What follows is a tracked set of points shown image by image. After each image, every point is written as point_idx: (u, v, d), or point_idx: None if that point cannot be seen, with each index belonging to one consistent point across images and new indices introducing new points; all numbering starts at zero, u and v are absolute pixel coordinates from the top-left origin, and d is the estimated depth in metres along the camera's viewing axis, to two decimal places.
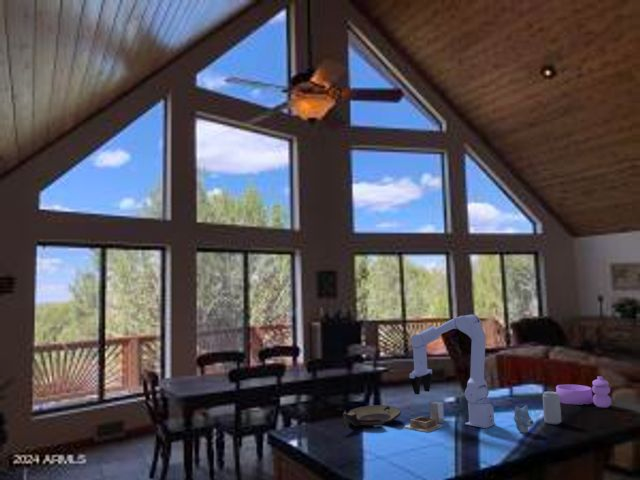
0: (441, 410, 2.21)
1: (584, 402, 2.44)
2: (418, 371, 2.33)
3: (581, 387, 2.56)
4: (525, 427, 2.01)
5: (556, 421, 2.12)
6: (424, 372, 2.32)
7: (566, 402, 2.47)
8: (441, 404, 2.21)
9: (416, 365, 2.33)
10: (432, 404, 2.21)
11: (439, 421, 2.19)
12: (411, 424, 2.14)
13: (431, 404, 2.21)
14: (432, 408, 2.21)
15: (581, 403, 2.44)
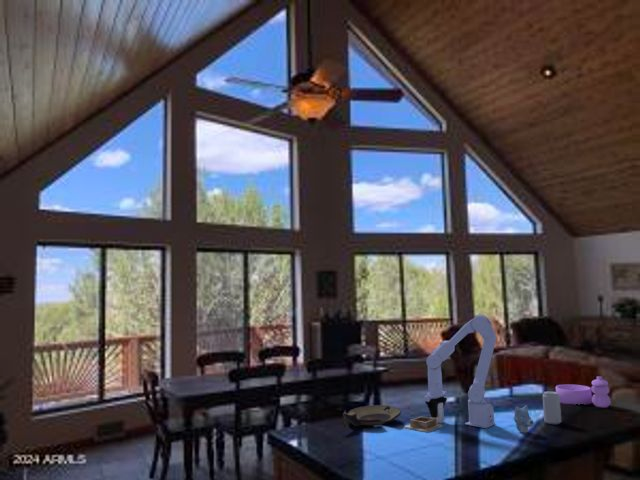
0: (441, 410, 2.21)
1: (583, 402, 2.44)
2: (433, 394, 2.20)
3: (581, 387, 2.56)
4: (525, 427, 2.01)
5: (556, 421, 2.12)
6: (439, 395, 2.20)
7: (565, 402, 2.47)
8: (441, 404, 2.21)
9: (431, 387, 2.21)
10: None
11: (439, 421, 2.19)
12: (411, 424, 2.14)
13: None
14: None
15: (580, 403, 2.44)
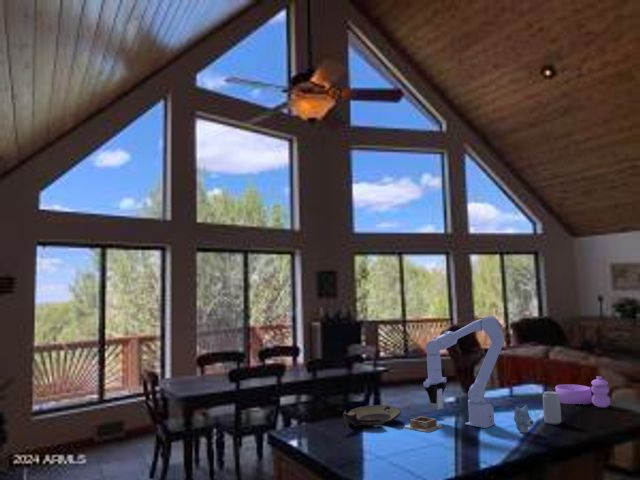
0: (440, 396, 2.21)
1: (583, 402, 2.44)
2: (432, 379, 2.21)
3: (581, 387, 2.56)
4: (525, 427, 2.01)
5: (556, 421, 2.12)
6: (439, 380, 2.20)
7: (565, 402, 2.47)
8: (440, 390, 2.22)
9: (430, 373, 2.21)
10: None
11: (438, 407, 2.20)
12: (411, 424, 2.14)
13: None
14: None
15: (580, 403, 2.44)
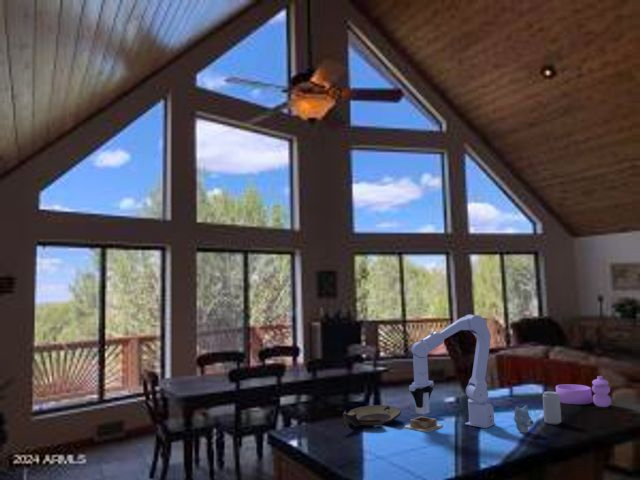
0: (427, 400, 2.14)
1: (584, 402, 2.45)
2: (418, 383, 2.14)
3: (580, 387, 2.57)
4: (525, 427, 2.01)
5: (556, 421, 2.12)
6: (425, 384, 2.13)
7: (566, 402, 2.47)
8: (427, 394, 2.15)
9: (416, 376, 2.14)
10: None
11: (424, 411, 2.13)
12: (411, 424, 2.14)
13: None
14: None
15: (581, 403, 2.45)
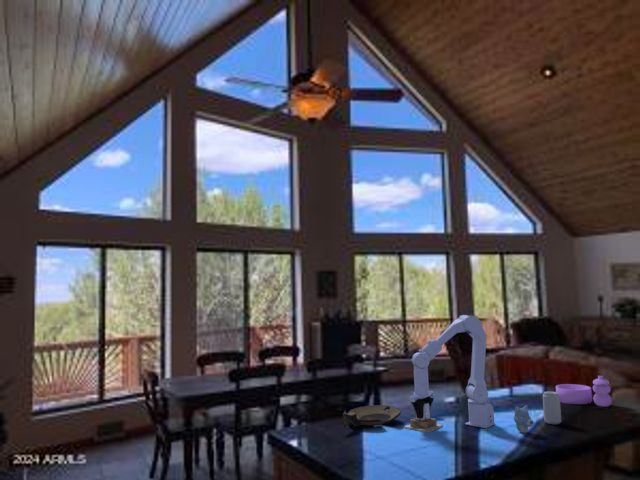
0: (427, 411, 2.14)
1: (584, 401, 2.45)
2: (419, 394, 2.13)
3: (580, 386, 2.57)
4: (525, 427, 2.01)
5: (556, 421, 2.12)
6: (425, 395, 2.13)
7: (567, 402, 2.48)
8: (427, 405, 2.14)
9: (417, 387, 2.14)
10: None
11: None
12: (411, 424, 2.14)
13: None
14: None
15: (582, 402, 2.45)
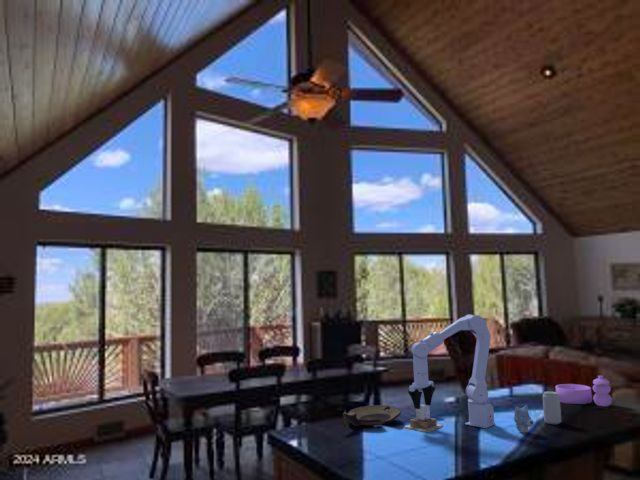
0: (427, 413, 2.14)
1: (585, 401, 2.46)
2: (418, 383, 2.14)
3: (579, 386, 2.58)
4: (525, 427, 2.01)
5: (556, 421, 2.12)
6: (425, 384, 2.13)
7: (567, 402, 2.48)
8: (427, 407, 2.14)
9: (416, 377, 2.14)
10: None
11: None
12: (411, 424, 2.14)
13: None
14: (418, 411, 2.14)
15: (582, 402, 2.45)
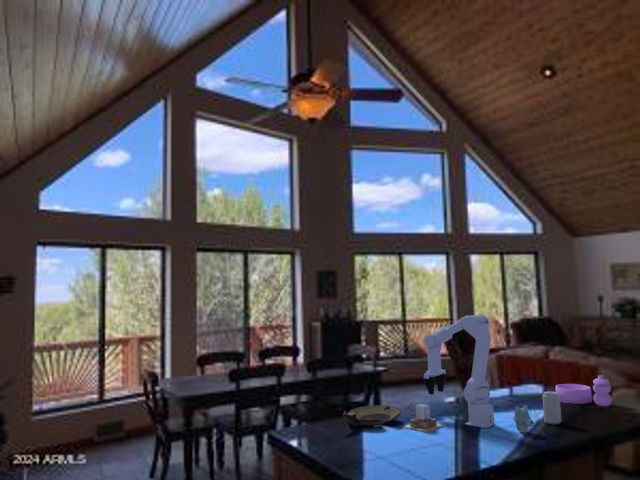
0: (427, 413, 2.14)
1: (585, 401, 2.46)
2: (432, 371, 2.33)
3: (579, 386, 2.58)
4: (525, 427, 2.01)
5: (556, 421, 2.12)
6: (438, 372, 2.33)
7: (567, 401, 2.48)
8: (427, 407, 2.14)
9: (430, 365, 2.34)
10: (418, 407, 2.14)
11: None
12: (411, 424, 2.14)
13: (417, 407, 2.14)
14: (418, 411, 2.14)
15: (582, 402, 2.46)
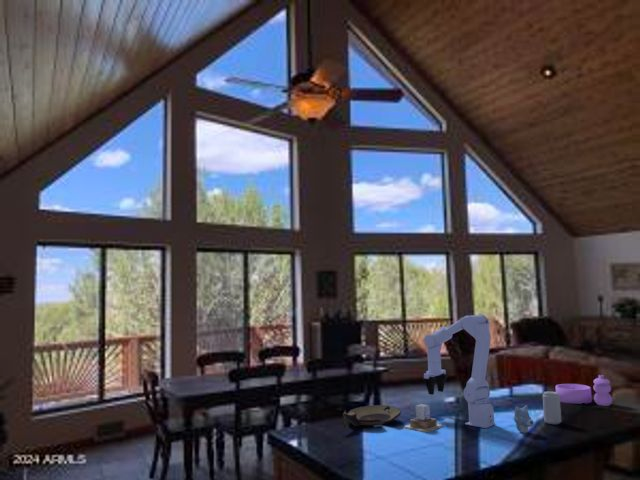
0: (427, 413, 2.14)
1: (585, 401, 2.46)
2: (432, 371, 2.33)
3: (578, 386, 2.58)
4: (525, 427, 2.01)
5: (556, 421, 2.12)
6: (438, 372, 2.33)
7: (567, 401, 2.48)
8: (427, 407, 2.14)
9: (430, 365, 2.34)
10: (418, 407, 2.14)
11: None
12: (411, 424, 2.14)
13: (417, 407, 2.14)
14: (418, 411, 2.14)
15: (582, 402, 2.46)
